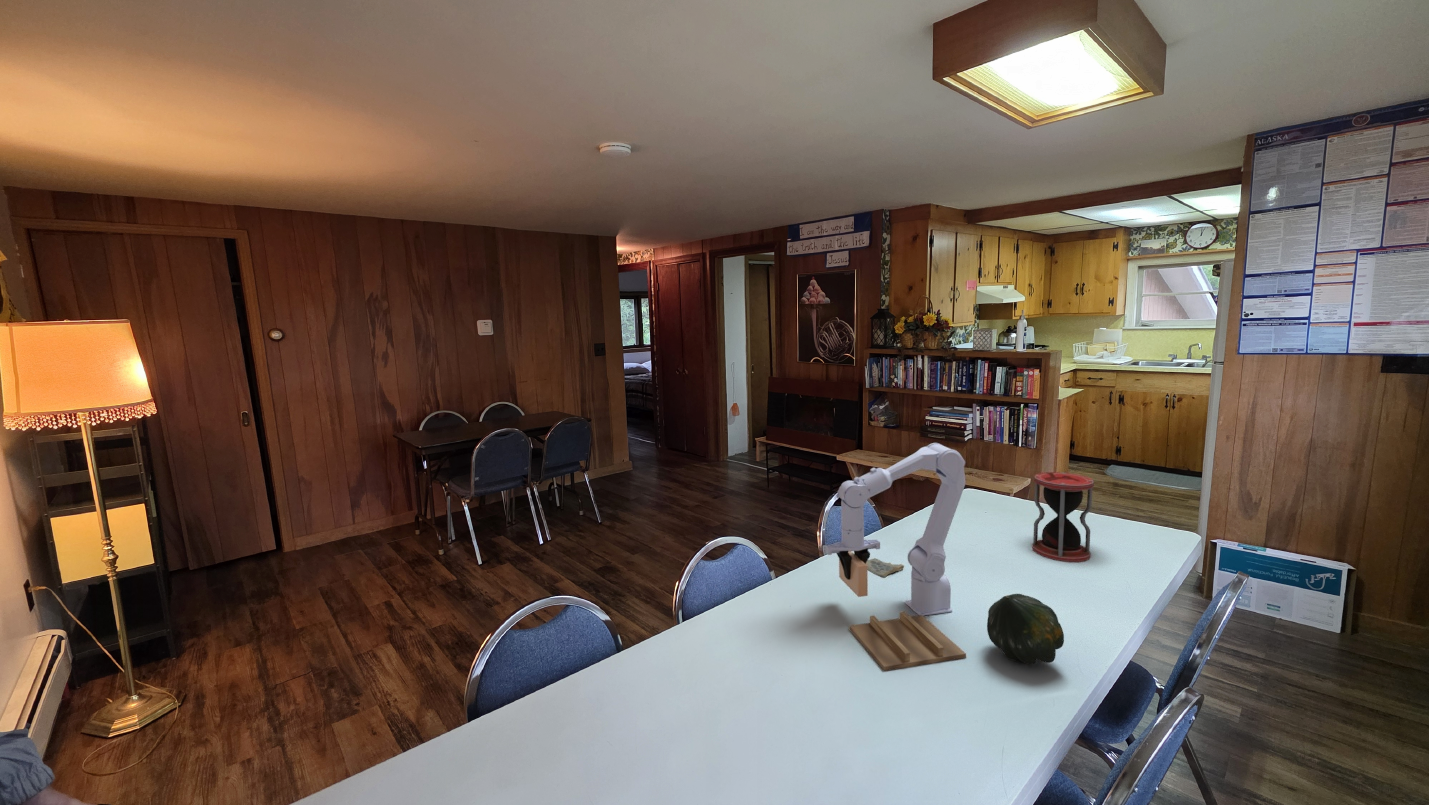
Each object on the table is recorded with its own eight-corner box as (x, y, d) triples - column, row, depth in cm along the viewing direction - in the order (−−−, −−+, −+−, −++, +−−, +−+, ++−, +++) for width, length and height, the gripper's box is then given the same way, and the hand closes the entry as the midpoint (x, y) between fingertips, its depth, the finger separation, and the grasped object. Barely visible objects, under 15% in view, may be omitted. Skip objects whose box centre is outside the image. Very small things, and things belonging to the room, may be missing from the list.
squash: (1034, 685, 116) (1037, 617, 114) (972, 650, 129) (973, 588, 127) (1075, 664, 123) (1078, 599, 121) (1011, 633, 136) (1013, 574, 134)
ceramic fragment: (908, 566, 171) (882, 569, 167) (907, 576, 171) (881, 579, 167) (884, 555, 181) (859, 557, 177) (883, 564, 181) (858, 567, 177)
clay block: (847, 576, 154) (847, 548, 153) (867, 595, 142) (867, 565, 141) (839, 577, 153) (838, 549, 152) (858, 597, 142) (858, 566, 141)
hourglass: (1089, 549, 184) (1093, 474, 181) (1091, 567, 170) (1094, 487, 167) (1033, 540, 193) (1035, 469, 190) (1030, 557, 179) (1032, 481, 176)
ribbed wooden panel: (922, 618, 144) (922, 607, 144) (966, 657, 127) (966, 645, 126) (849, 629, 140) (849, 618, 140) (884, 670, 123) (884, 658, 123)
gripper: (871, 519, 151) (871, 567, 153) (820, 525, 148) (821, 574, 150) (884, 528, 144) (884, 578, 146) (830, 534, 141) (831, 585, 143)
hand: (853, 577), depth 147 cm, fingers closed on clay block, 2 cm apart
